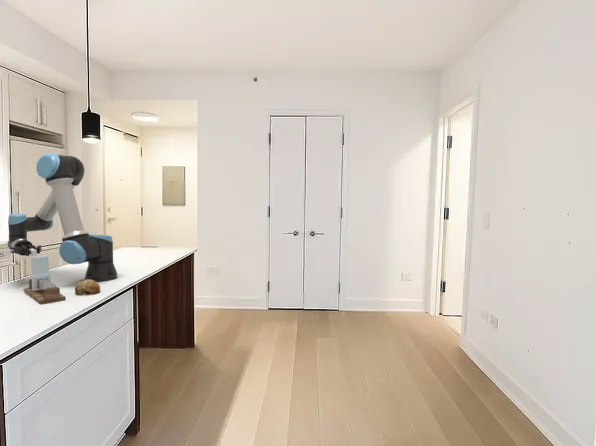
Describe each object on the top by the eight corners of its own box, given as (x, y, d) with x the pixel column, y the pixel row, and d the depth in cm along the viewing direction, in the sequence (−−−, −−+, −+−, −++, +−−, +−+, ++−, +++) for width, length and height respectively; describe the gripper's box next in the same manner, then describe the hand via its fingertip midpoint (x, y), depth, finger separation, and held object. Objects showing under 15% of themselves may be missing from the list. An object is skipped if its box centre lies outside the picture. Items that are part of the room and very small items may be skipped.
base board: (24, 291, 178) (23, 279, 178) (47, 288, 185) (46, 276, 184) (40, 304, 159) (39, 291, 158) (65, 300, 165) (65, 287, 165)
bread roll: (75, 304, 173) (74, 289, 169) (75, 289, 181) (74, 275, 177) (100, 301, 177) (100, 286, 174) (99, 287, 185) (99, 273, 182)
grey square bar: (32, 283, 179) (31, 275, 179) (40, 281, 181) (40, 274, 181) (47, 293, 162) (46, 285, 161) (56, 291, 164) (56, 283, 164)
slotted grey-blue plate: (32, 289, 173) (30, 257, 172) (49, 287, 177) (47, 255, 176) (33, 291, 171) (32, 258, 170) (50, 288, 175) (49, 256, 174)
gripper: (38, 253, 200) (51, 260, 183) (6, 256, 190) (17, 263, 174) (37, 238, 199) (51, 244, 183) (6, 240, 190) (17, 246, 173)
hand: (34, 253), depth 178 cm, fingers closed
